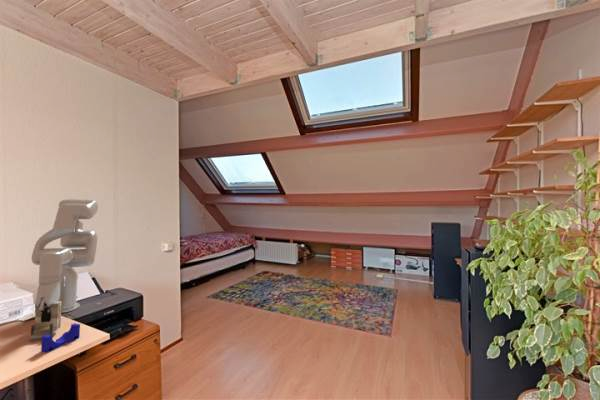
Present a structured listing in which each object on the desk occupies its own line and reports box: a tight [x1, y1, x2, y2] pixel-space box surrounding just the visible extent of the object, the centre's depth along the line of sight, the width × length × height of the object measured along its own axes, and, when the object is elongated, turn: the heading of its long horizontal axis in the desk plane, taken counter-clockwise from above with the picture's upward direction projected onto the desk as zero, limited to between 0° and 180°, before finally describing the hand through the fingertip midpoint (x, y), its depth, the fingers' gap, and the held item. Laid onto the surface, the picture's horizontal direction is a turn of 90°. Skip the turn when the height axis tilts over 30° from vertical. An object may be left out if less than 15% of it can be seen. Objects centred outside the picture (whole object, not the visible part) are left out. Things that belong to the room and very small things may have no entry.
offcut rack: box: [29, 324, 57, 342], centre depth 113 cm, size 4×7×6 cm, turn 110°
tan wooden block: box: [34, 301, 62, 331], centre depth 120 cm, size 3×8×12 cm, turn 109°
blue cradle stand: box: [40, 322, 81, 353], centre depth 110 cm, size 12×4×6 cm, turn 166°
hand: (48, 319), depth 120 cm, fingers closed on tan wooden block, 3 cm apart
